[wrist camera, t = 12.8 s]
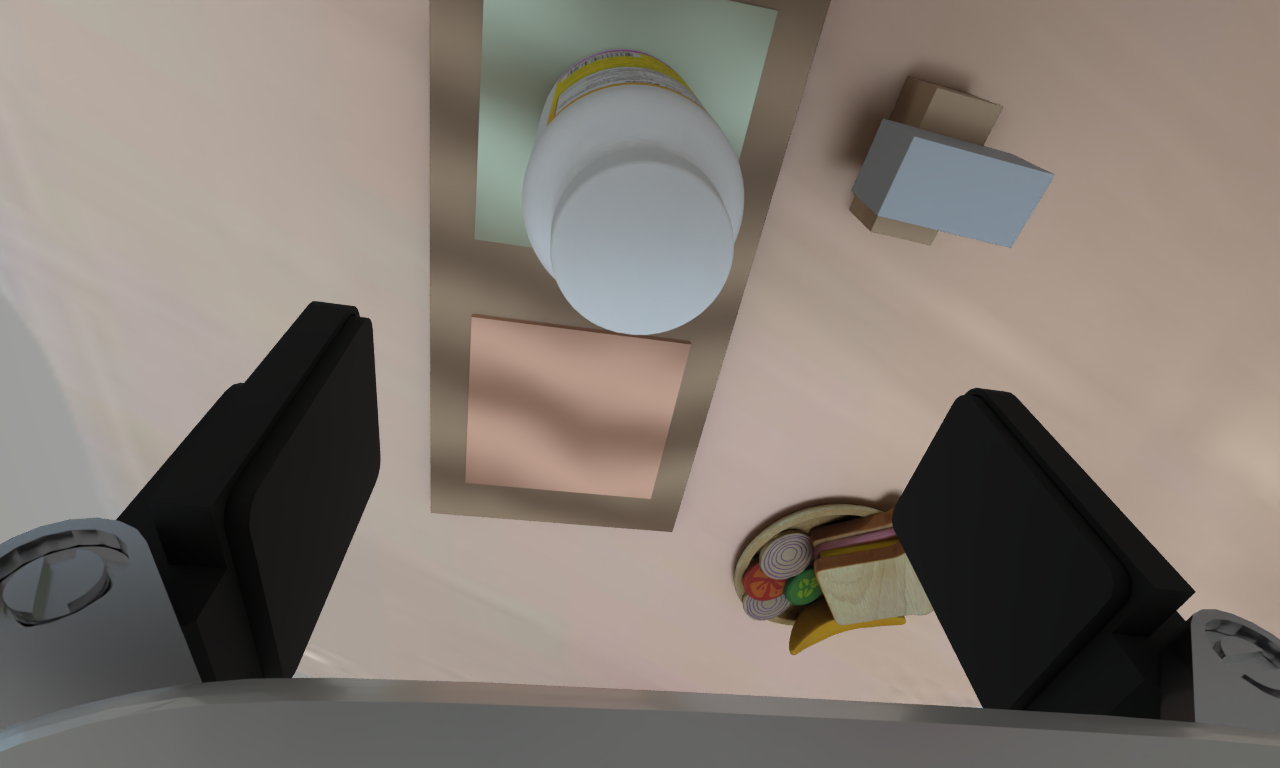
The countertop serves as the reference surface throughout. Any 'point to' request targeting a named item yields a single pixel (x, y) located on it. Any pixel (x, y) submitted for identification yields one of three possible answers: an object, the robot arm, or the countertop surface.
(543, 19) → the tile board
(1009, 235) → the brick grey
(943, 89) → the brick walnut
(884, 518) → the toy sandwich meal
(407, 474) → the countertop surface
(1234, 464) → the countertop surface
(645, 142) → the supplement bottle
